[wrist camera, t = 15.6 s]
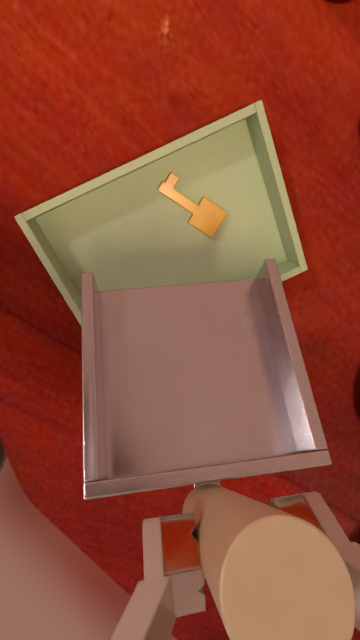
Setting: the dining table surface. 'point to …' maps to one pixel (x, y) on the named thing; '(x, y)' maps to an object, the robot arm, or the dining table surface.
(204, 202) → the key
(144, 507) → the dining table surface
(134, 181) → the tray
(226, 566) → the dustpan
